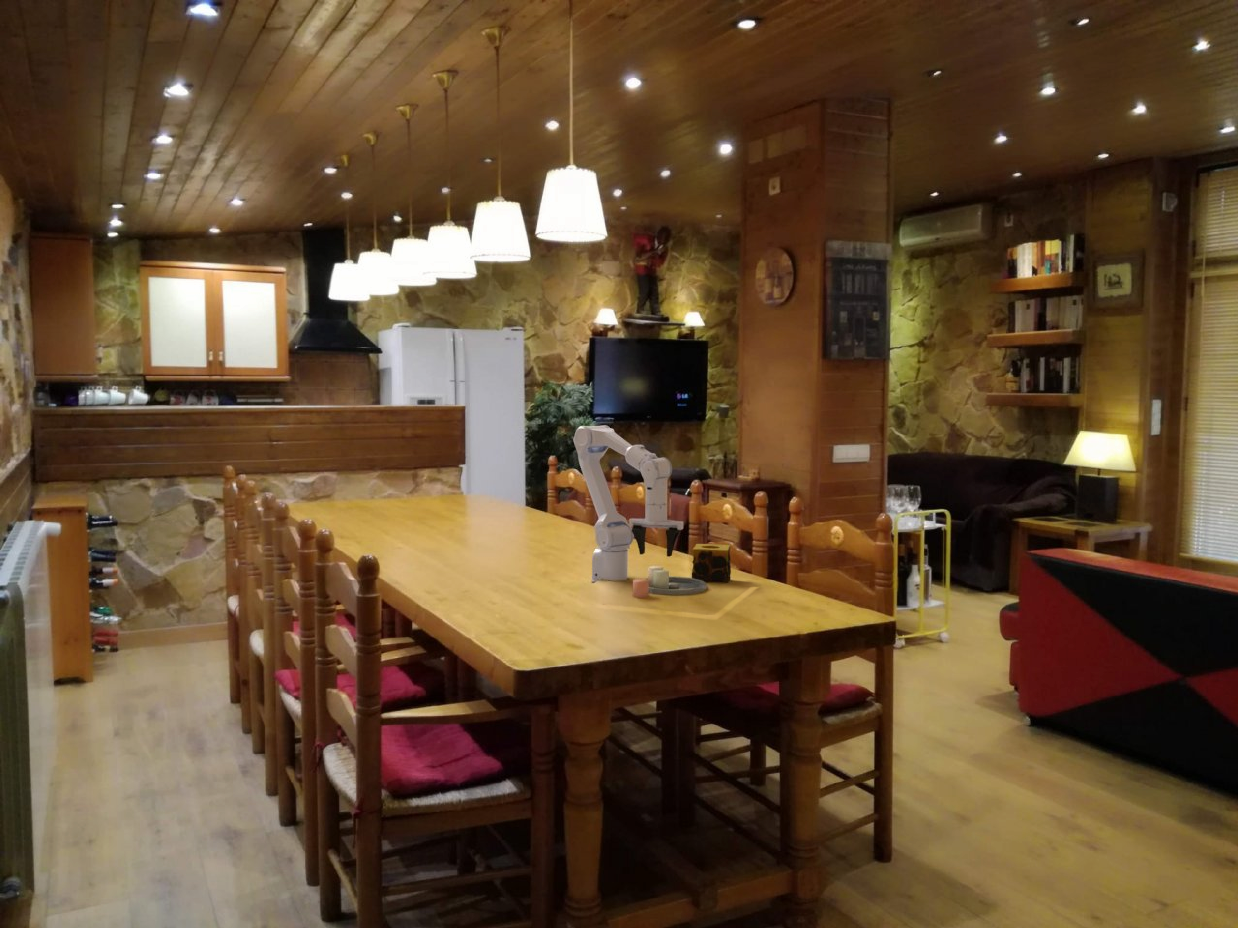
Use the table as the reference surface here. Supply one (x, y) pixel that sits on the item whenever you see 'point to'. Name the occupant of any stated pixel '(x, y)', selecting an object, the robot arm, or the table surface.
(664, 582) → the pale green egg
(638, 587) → the bead
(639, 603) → the table surface
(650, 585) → the bead
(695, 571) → the yellow black patterned cube
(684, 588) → the groove tray
